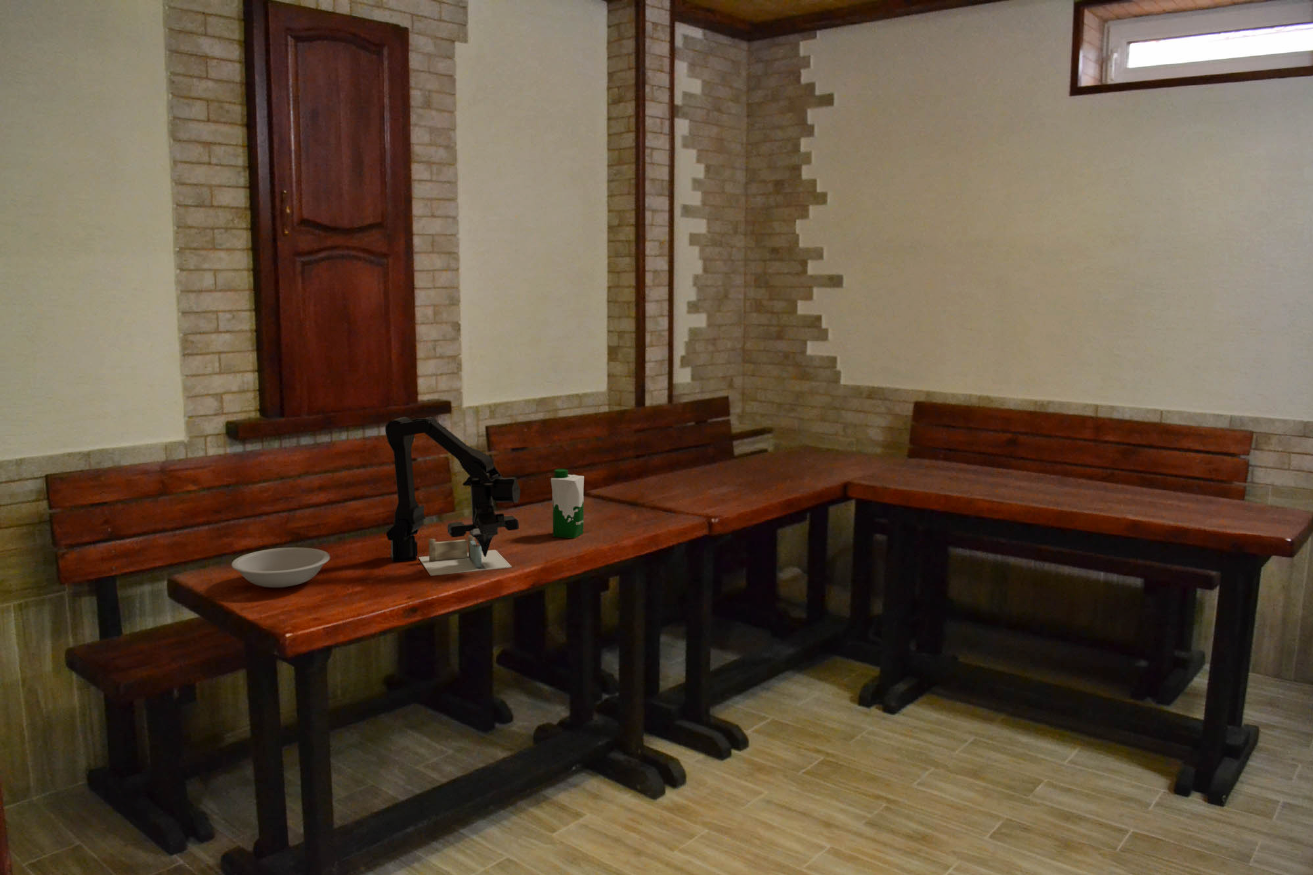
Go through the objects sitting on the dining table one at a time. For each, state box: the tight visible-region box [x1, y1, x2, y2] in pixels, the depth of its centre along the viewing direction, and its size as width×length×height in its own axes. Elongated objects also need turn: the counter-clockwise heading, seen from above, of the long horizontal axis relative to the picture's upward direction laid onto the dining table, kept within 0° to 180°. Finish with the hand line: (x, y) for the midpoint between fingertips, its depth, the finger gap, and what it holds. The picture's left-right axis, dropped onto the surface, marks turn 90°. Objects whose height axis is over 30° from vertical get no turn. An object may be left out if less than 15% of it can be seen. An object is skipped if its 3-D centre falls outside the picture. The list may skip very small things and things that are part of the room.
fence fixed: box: [428, 534, 476, 561], centre depth 310 cm, size 13×2×6 cm, turn 112°
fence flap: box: [470, 541, 482, 567], centre depth 306 cm, size 11×2×6 cm, turn 18°
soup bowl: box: [231, 547, 331, 588], centre depth 287 cm, size 24×24×7 cm
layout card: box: [418, 549, 512, 577], centre depth 308 cm, size 22×18×1 cm
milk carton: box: [550, 468, 585, 539], centre depth 337 cm, size 9×9×20 cm
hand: (484, 556), depth 306 cm, fingers closed
